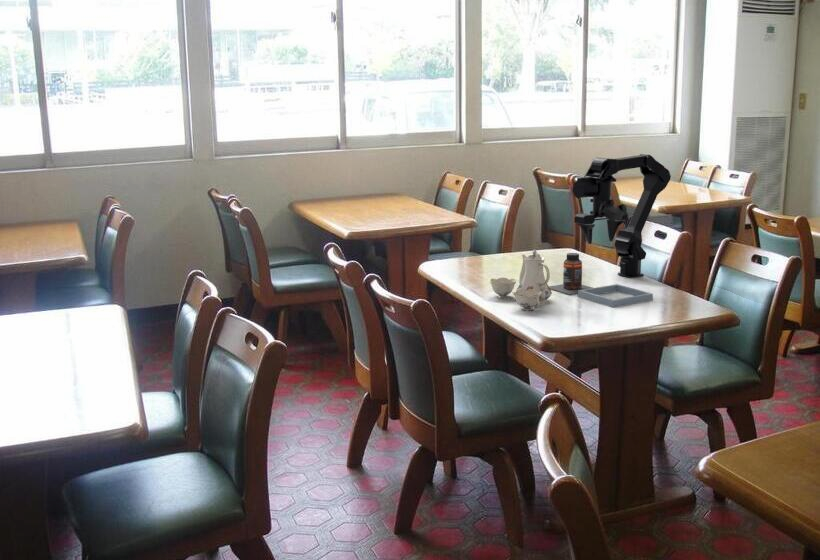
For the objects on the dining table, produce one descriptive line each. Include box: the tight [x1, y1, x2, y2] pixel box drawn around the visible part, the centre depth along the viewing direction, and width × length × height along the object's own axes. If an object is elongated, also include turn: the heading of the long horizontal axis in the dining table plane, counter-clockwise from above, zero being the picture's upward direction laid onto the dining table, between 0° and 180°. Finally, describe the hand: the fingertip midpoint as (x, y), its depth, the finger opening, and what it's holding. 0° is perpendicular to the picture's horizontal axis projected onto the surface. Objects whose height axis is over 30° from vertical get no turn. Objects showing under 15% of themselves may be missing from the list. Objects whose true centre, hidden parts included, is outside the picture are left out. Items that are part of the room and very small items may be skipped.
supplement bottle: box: [562, 252, 583, 289], centre depth 289 cm, size 6×6×11 cm
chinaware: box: [489, 249, 553, 312], centre depth 274 cm, size 28×17×17 cm, turn 24°
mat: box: [548, 283, 594, 296], centre depth 290 cm, size 12×12×1 cm
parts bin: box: [577, 283, 654, 308], centre depth 277 cm, size 16×16×2 cm
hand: (600, 242), depth 300 cm, fingers open, 9 cm apart
